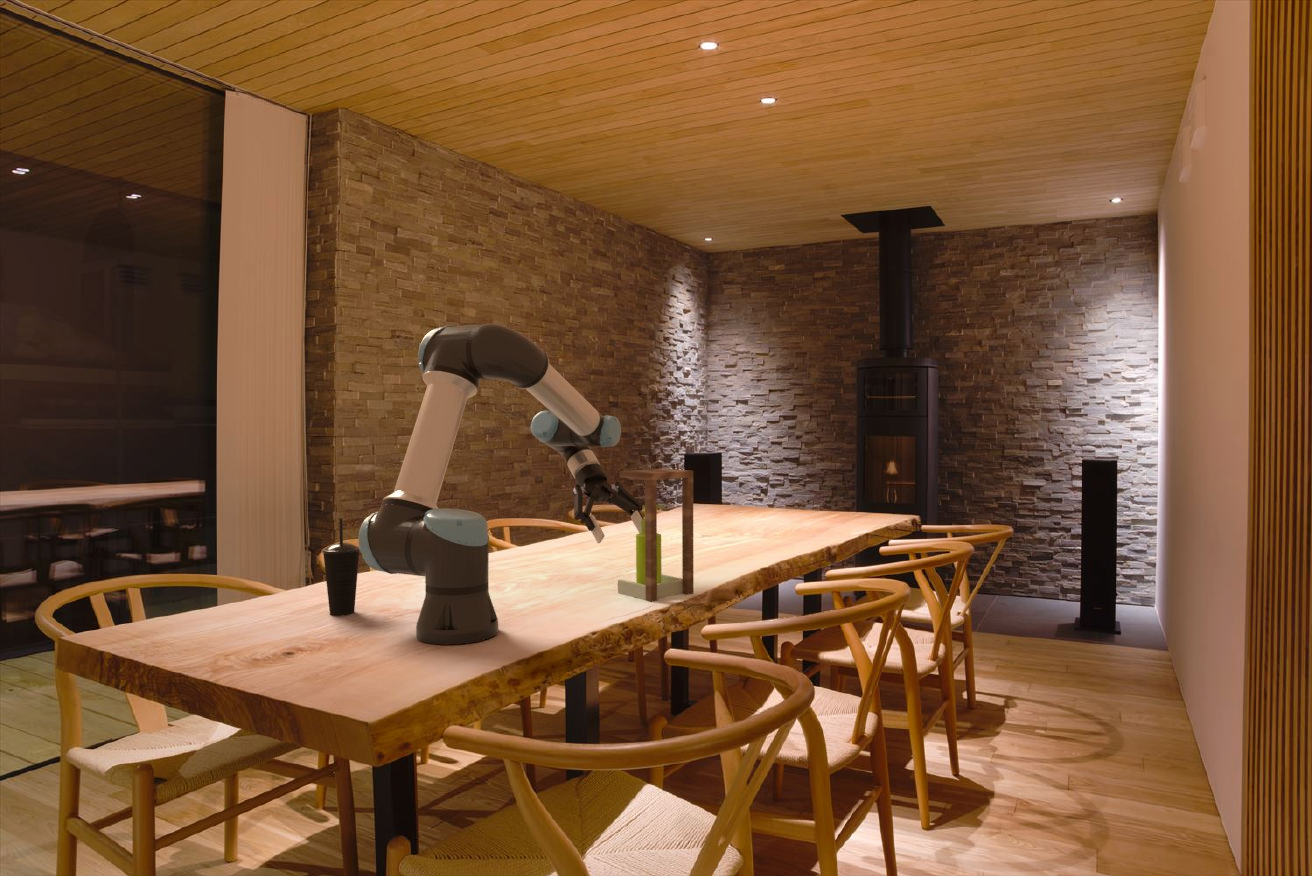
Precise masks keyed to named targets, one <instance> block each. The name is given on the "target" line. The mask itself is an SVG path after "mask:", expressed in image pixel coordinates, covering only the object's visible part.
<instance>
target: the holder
mask: <svg viewBox="0 0 1312 876" xmlns="http://www.w3.org/2000/svg"><path fill="white" fill-rule="evenodd" d="M661 578H662V583H658V584H657V599H660V598H665V597H666V598H667V597H671V596H675V595H682V594H683V581H682V578H680V577H676V576H672V575H668V574H663V573H661ZM617 593H618V594H621V595H624V596H628V597H632V598H636V599H640V600H643V601H646V585H643V584H639V583H636V582H634V581H631V580H625V579H618V580H617Z"/></svg>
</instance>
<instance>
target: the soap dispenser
mask: <svg viewBox="0 0 1312 876" xmlns="http://www.w3.org/2000/svg"><path fill="white" fill-rule="evenodd" d="M642 509H643V510H645V504H643V506H642ZM657 509H659V510H665V509H666V506H665V505H661V504H660V505H659V504H657ZM635 558H636V559H635V562H636V563H635V566H636V567H635V570H636V571H635V575H636V576H635V578H636V580H635V581H636V582H635V583H639V584H643V585H646V580H645V517H643V519H642V520H641V533H639V532H638V533H637V534H635ZM661 574H662V534H661V533H658V532H657V584H658V583H662V578H661Z"/></svg>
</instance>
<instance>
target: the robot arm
mask: <svg viewBox="0 0 1312 876" xmlns="http://www.w3.org/2000/svg"><path fill="white" fill-rule="evenodd" d="M418 347H419V348H418V352H417V360H418V361H419V362H418V367H419V370H420V372H421V374H422V377H421V379H422V380H423V382H424V384H425V385H426V388H425V389H426V390H425V393H424V395H423V399H422V401H421V405H420V408H419V411H418V414H417V417H416V420H415V422H414V423H415V425H414V427H413V430H412V434H411V436H410V438H409V439H410V440H409V443H408V446H407V449H406V452H405V455H404V459H403V461H402V465H401V467H400V468H401V469H400V471H399V474H398V478H397V481H396V484H395V486H394V490H393V492H391V494H389V495H387V496H385V497H383V499H382V502H381V506H380V508H379V510H378V511H376V512H373V513H371V514H369V516H368V517H366V518H364V520H363V522H362V523H361V526H360V528H359V532H358V538H357V539H358V547H359V549H360V551H359V553H361V555H362V559H363V561H364V562H365V563H366V565H367V566H369V567H370V568H371V569H372V570H375V571H379V572H383V573H387V574H390V575H398V574H399V575H410V576H418V577H425V578H424V579H425V581H424V582H425V595H424V596H425V597H424V599H423V603H422V606H421V610H420V612H419V616H418V619H417V622H416V626H415V627H416V628H415V630H416V632H415V634H416V637H415V638H416V639H417V640H418V641H421V642H423V643H428V644H433V645H434V644H435V645H461V644H460V643H465V644H470V643H472V644H473V643H477V641H478V642H481V641H485V639H486V640H488V638H489V639H491V637H492V638H494V637H495V636H497V634H499V619H498V616H497V614H496V610H495V607H494V605H493V602H492V598H491V595H490V593H489V591H490V589H489V556H490V555H489V553H490V552H489V551H490V550H489V547H490V546H489V542H490V535H489V529H488V521H487V519H486V518H485V517H484V516H483V515H482V514H481V513H478V512H475V511H472V510H467V509H460V508H455V509H454V508H447V507H444V508H443V507H442V508H439V506H438V505H437V502H438V500H439V496H440V492H441V489H442V485H443V482H444V478H445V475H446V472H447V468H448V465H449V461H450V459H451V455H452V452H453V448H454V444H455V441H456V437H457V434H458V432H459V429H460V425H461V422H462V418H463V415H464V411H465V407H466V405H467V401H468V399H470V398H472V397H474V396H476V395H477V392H478V389H479V387H480V383H481V380H486V381H487V380H501V381H506V382H509V383H510V384H512V385H513V386H514V387H516V388H518V389H521V390H526V391H527V392H528V393H529V394H531V396H533V397H534V398H535V399H536V400H537V401H538V402H540V403H541V404H542V405H543V406H544V407H545V408H546V409H547V410H542V411H539V412H538V413H536V414H535V415H534V416H533V418H532V420H531V423H530V431H531V434H532V435H533V436H534V437H535V438H536V439H537V440H538V441H539V442H541V443H543V444H544V445H545V446H548V447H549V448H551V449H553V450H554V451H555V452H557V453H559V454H560V455H561V457H562V458H563V460H564V462H565V464H566V466H567V467H568V470H569V471H570V473H571V475H572V476H573V478H574V481H575V482H576V484H575V486H574V488H573V489H572V491H571V493H572V496H573V501H574V502H573V505H574V506H573V518H574V520H576V521H579V520H580V521H579V522H580V523H581V524H584V525H585V526H586V528H587V530H588V531H590V532H591V534H592V536H593V537H594V539H595V541H596V543H597V544H601V542H602V541H603V540H604V538H605V537H606V535H605V533H604V532H603V530H602V528H601V526H600V524H599V523H598V522H599V521H597V519H596V517H595V515H594V514H591V512H592V509H593V506H594V503H601V502H602V503H604V502H605V503H606V502H607V503H608V504H613V505H615V506H616V507H617V508H620V509H621V510H622V511H623V512H626V513H627V514H628V515H631V516H630V519H631V521H632V523H633V525H634V526H635V528H636V530H637V531H638V534H639V533H641V520H642V519H643V518H644V517H643V515H642V511H643V510H644V509H642V506H644V504H642V503H641V502H640V501H639V500H638V499H637V498H636V497H635V496H634V495H632V494H631V493H630V492H629V491H628V490H626V489H625V488H624V487H623V486H622V484H621V483H620V482H619V481H615V483H614V484H611V483H610V482H609V481H608V479H607V473H606V472H605V471H604V469H603V467H602V465H601V463H600V462H599V460H598V458H597V456H596V455H595V453H594V452H593V450H592V448H591V447H593V448H594V447H595V448H596V447H597V448H605V447H615V446H616V445H617V444H618V443H619V441H620V440H621V436H622V427H621V422H620V420H619V418H618V417H616V416H614V415H608V414H605V415H602V414H601V413H600V412H599V410H597V409H596V408H595V407H594V406H593V405H592V404H591V403H590V402H589V401H588V400H587V399H586V398H585V397H584V396H583V395H582V394H581V393H580V392H579V391H578V390H577V389H576V388H575V387H574V386H572V385H571V384H570V382H568V381H567V379H565V378H564V377H563V376H562V375H561V374H560V373H559V372H558V371H557V370H556V369H555V368H554V367H553V366H552V365H551V364H550V359H549V356H548V355H547V353H545V351H544V350H543V349H542V348H540V347H539V346H538V345H537V344H536V343H535V342H534V341H532V340H530V338H528V337H526V336H525V335H524V334H522V333H520V332H518V331H516V330H514V329H512V328H510V327H508V326H505V325H503V324H498V323H482V324H470V325H469V324H468V325H455V324H454V325H453V324H452V325H450V324H449V325H445V326H441V327H436V328H434V329H432V330H430V331H429V332H428V333H426V335H424V337H423V338H422V341H421V342H420V344H419V346H418ZM583 495H585V496H586V497H587V500H586V504H585V506H584V505H583V503H584V502H583V501H584V500H583V499H584V496H583ZM583 506H584V509H583ZM493 636H494V637H493Z"/></svg>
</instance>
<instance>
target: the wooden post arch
mask: <svg viewBox="0 0 1312 876" xmlns="http://www.w3.org/2000/svg"><path fill="white" fill-rule="evenodd" d="M619 478H620V479H630V480H631V479H632V480H642V481H644V505H645V509H644V518H645V580H646V600H645V601H646V602H651V603H652V602H657V601H658V598H657V533H658V531H657V526H658V522H657V519H658V517H657V514H658V513H657V510H658V508H657V505H658V504H657V498H658V497H657V493H658V491H657V490H658V489H657V481H660V480H674V479H681V481H682V483H681V488H682V489H681V497H682V498H681V503H682V504H681V509H682V510H681V513H682V517H681V519H682V521H681V522H682V527H681V531H682V534H681V535H682V536H681V537H682V538H681V539H682V540H681V541H682V544H681V545H682V549H681V550H682V554H681V555H682V556H681V557H682V560H681V561H682V562H681V563H682V564H681V565H682V576H681V577H682V581H683V593H682V594H683V595H688V596H689V595H692V594H694V470H686V469H675V468H674V469H671V468H652V469H651V468H650V469H634V470H632V469H631V470H620V471H619Z"/></svg>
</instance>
